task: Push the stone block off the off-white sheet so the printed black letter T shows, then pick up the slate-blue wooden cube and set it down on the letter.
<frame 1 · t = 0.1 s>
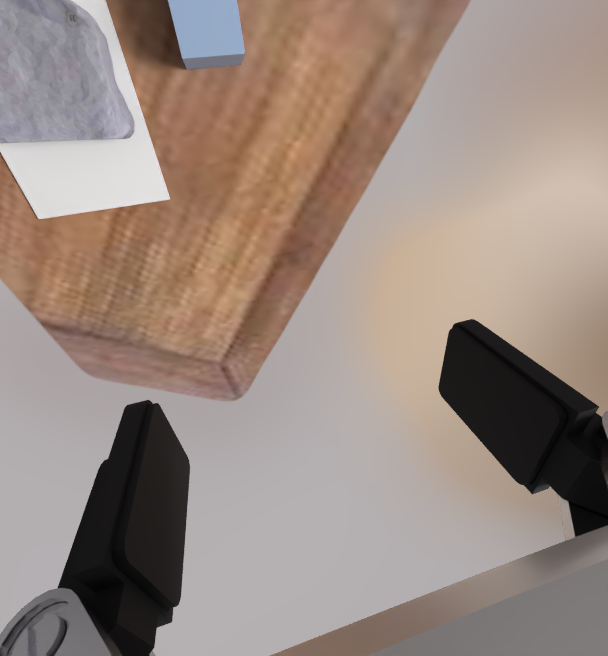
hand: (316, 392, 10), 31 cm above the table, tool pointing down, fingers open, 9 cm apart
letter sheet: (47, 74, 26), on the table
stone block: (47, 74, 26), on the table, touching letter sheet
blue cube: (206, 31, 27), on the table
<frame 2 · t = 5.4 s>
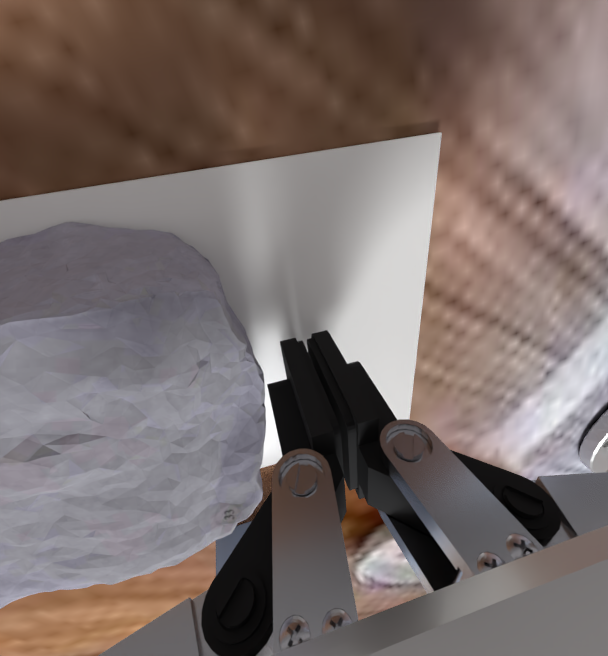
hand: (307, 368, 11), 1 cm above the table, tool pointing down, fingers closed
letter sheet: (141, 386, 11), on the table
stone block: (124, 392, 11), on the table, touching gripper, letter sheet
blue cube: (266, 536, 19), on the table
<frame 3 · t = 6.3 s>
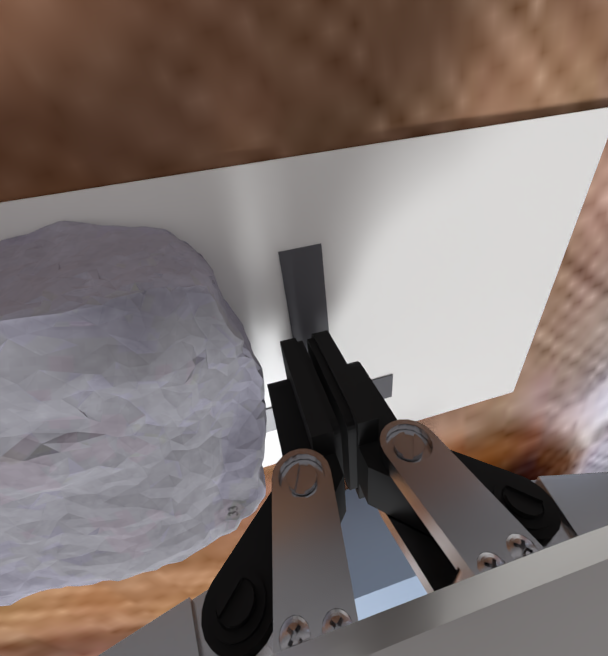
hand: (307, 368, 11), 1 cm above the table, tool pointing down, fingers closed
letter sheet: (311, 344, 12), on the table
stone block: (125, 391, 11), on the table, touching gripper, letter sheet
blue cube: (361, 504, 20), on the table
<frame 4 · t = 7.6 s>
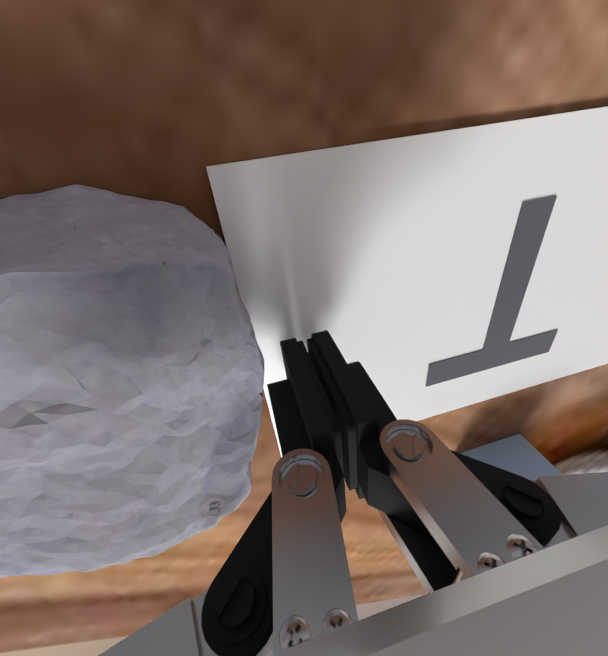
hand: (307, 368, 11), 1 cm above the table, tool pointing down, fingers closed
letter sheet: (505, 295, 13), on the table
stone block: (116, 371, 11), on the table, touching gripper
blue cube: (478, 465, 21), on the table
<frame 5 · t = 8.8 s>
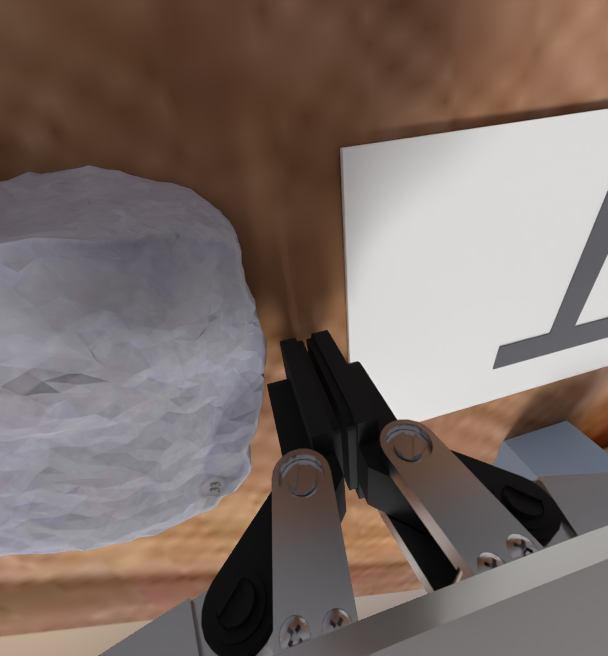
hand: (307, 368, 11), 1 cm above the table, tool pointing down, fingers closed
letter sheet: (577, 280, 14), on the table
stone block: (118, 353, 11), on the table
blue cube: (523, 452, 22), on the table
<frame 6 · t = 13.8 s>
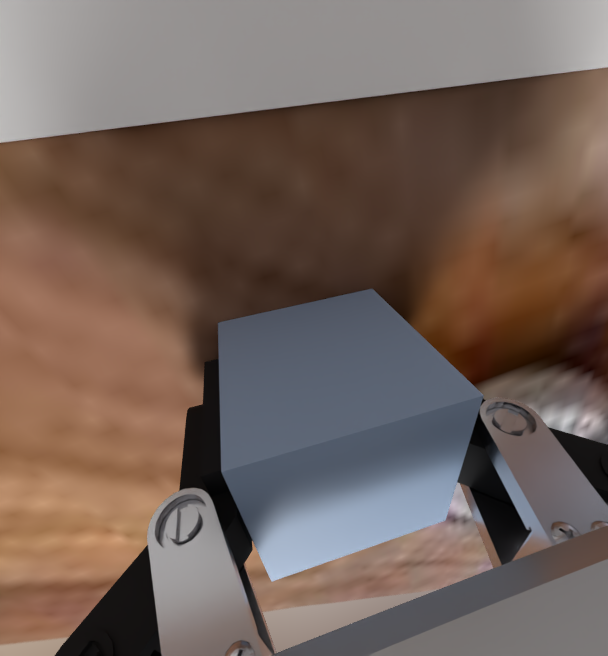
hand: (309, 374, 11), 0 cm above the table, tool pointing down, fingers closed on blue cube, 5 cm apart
blue cube: (306, 365, 11), on the table, touching gripper
when the fingers open (2 cm above the table, at t = 19.5 s): blue cube drops 2 cm, resting on letter sheet.
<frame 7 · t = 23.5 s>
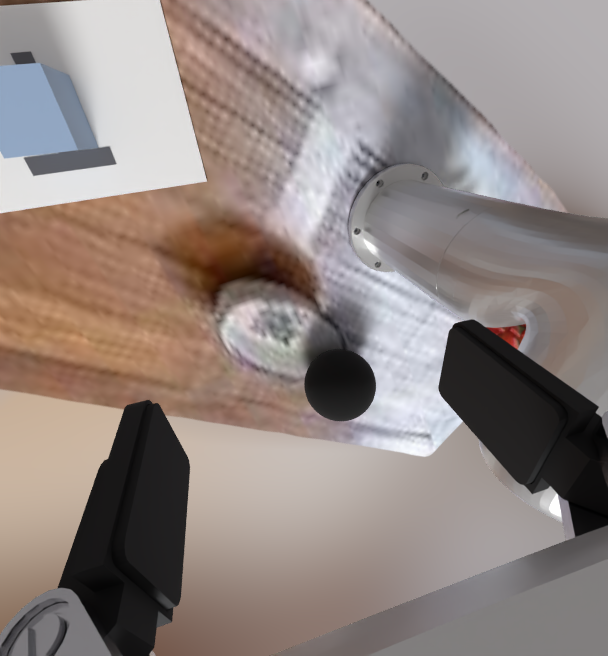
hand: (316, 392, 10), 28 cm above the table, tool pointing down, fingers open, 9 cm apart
dragon fruit: (482, 331, 53), on the table
decorative ball: (328, 362, 48), on the table
letter sheet: (51, 116, 25), on the table
blue cube: (52, 116, 25), resting on letter sheet
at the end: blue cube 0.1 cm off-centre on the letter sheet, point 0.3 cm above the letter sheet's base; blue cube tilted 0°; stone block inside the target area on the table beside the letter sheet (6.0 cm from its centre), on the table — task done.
